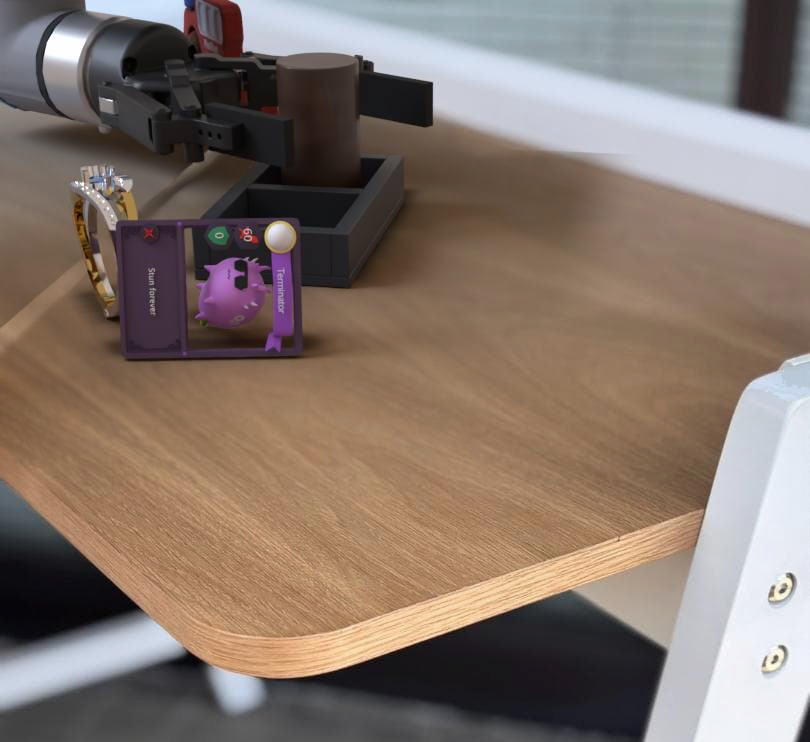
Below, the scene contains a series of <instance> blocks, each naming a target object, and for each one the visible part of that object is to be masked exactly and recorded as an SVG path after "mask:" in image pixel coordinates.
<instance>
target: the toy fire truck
mask: <svg viewBox="0 0 810 742" xmlns="http://www.w3.org/2000/svg"><path fill="white" fill-rule="evenodd" d="M183 4H184V6H185V8H184V10H183V33H184V34H185V35H186V36H187V37H188V38H189V39H190V40H191V42H192V43H193V45H194V46H195V48H196V49H197V51H198V53H199V54H201V53H215V54H219V55H220V56H222V57H230V58H240V54H241V53H244V47H243V46H244V41H245V39H244V38H245V35H244V24H243V23H244V22H243V14H242V10H241V7H240V6H239V4H238V3H236V2H234V1H231V0H183ZM241 91H242V98H241V100H240V102H249V96H248V92H246V91H243V90H242V84H241ZM259 112H264V113H268V114H273V115H278V107H262V108H261V109H260V110H259Z"/></svg>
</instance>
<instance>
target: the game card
mask: <svg viewBox="0 0 810 742" xmlns="http://www.w3.org/2000/svg"><path fill="white" fill-rule="evenodd" d="M115 226H116V247H117V269H118V291H119V312H120V316H119V329H120V330H119V331H120V332H119V333H120V352H121V356H122V358H124V359H169V358H170V359H171V358H173V359H174V358H175V359H176V358H180V359H181V358H231V357H236V358H237V357H283V356H284V357H285V356H286V357H287V356H289V357H291V356H292V357H293V356H301V355H302V354H303V352H304V340H303V339H304V337H303V336H304V334H303V333H304V331H303V299H302V298H303V295H302V285H301V256H300V223H299V220H298V219H296V218H242V219H200V218H186V219H185V218H184V219H183V218H182V219H181V218H179V219H178V218H177V219H138V220H123V219H120V220H118V221H117V222H116V225H115ZM230 227H237V228H236V230H235V232H234V233H233V231H232V230H231V228H230ZM259 227H268V228H267V229H266V231H265V236H264V234H263V233H262V231H261V229H260V228H259ZM192 228H207V230H206V232H205V234H204V238H205V240H206V241H207V243H208V244H209V246H210V248H211V249H212V250H228V248H229V247H230V245H231V243H232V241H233V239H235V241H236V243H237V244H238V246H239V248H240V249H241V250H244V249H257V248H258V246H259V244H260V242H261V240H262V238H263V236H264V239H265V243H266V245H267V247H268V248H269V249H270V250H271V253H272V271H273V283H272V286H273V288H272V290H273V292H272V291H271V289H269V288H268V287H266V286H265V283H264V282H263V279H262V277H261V275H260V273H259V272H261V271H263V270H267V269H269V270H270V269H271V268H270V267H268V266H258V265H259V263H256V264H255V261H256V260H257V259H258V258H256V259H254V260H252V261H248V258H249V257H247V258H245V259H240V258H229V259H226V260H224V261H222V262H220V263H219V264H217V265H205V266H204V268H205V269H207V270H208V271H209V272H210V276H209V278H208V280H206V282H199V283H196V284H195V287H196V288H197V289H199V290H200V293H199V297H198V304H197V305H198V310H199V313H198V314H197V315H195V316H194V319H195V320H199V325H200V326H201V327H205V328H208V326H213V327H216V328H218V329H233V328H238V327H241V326H244V325H246V324H247V323H249V322H251V321H252V320H253V319H254V318H255V317H256V316H258V314H259V313H260V311H261V310H262V308H263V306H264V305H265V301H266V294H272V293H273V294H272V295H273V297H272V298H273V301H272V302H273V303H272V304H273V305H272V306H273V307H272V308H273V310H272V311H273V313H272V315H273V317H272V318H273V323H272V325H273V326H272V327H273V332H269V334H268V336H267V339H266V344H265V347H243V348H240V347H239V348H238V347H237V348H191V347H190V337H189V314H188V313H189V312H188V311H189V310H188V289H187V288H188V287H187V285H188V284H187V263H186V236H185V229H192ZM291 249H292V273H291V257H290V250H291ZM292 278H293V285H292ZM292 335H293V344H294V345H293V346H292V347H282V339H283V337H291V336H292Z"/></svg>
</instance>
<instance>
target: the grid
mask: <svg viewBox="0 0 810 742" xmlns="http://www.w3.org/2000/svg"><path fill="white" fill-rule="evenodd" d="M360 156H361V189H357V188H335V187H314V186H292V185H282V184H281V167H278V166H274V165H269V164H265V163H261V162H257V161H256V163H255V164H254V165H252V167H251V168H250V169H249V170H247V172H246V173H244V174H243V175H242V177H241V178H239V179H238V180H237V181H236V182H235V183H234V184H233V185H232V186H231V187H230V188H229V189H228V190H227V191H226V192H225V193H224V194H223V195H222V196H221V197H220V198H219V199H218V200H217V201H216V202H215V203H214V204H213V205H212V206H211V207H209V208H208V209H207V211H205V212H204V213H203V214H202V216H200V217H199V219H242V218H296V219H298V220H299V223H300V256H301V286H311V287H327V288H330V287H331V288H347V289H349V288H350V287H352V284H353V283H354V281H355V280H356V278H357V276H358V275H359V273H360V272H361V270H362V269H363V267H364V266H365V264H366V262H367V261H368V260H369V258H370V256H371V255H372V253H373V251H374V250H375V248H376V247H377V245H378V244H379V242H380V241H381V239H382V237H383V236H384V235H385V233H386V231H387V229H389V226H390V225H391V223H392V222H393V221H394V218H395V217H396V216H397V214H398V213H399V211H400V209H401V208H402V206H403V205H404V203H405V194H404V193H405V156H404V155H397V154H377V153H376V154H375V153H360ZM230 228H231V230H232V231H233V233H234V232H235V230H236V228H237V227H230ZM259 228H260V229H261V231H262V233H263V234H264V236H265V231H266V229H267V228H268V227H259ZM206 230H207V228H191V238H192V251H193V253H192V254H193V266H194V278H195V280H204V281H205V280H206V281H207V280H208V278H209V276H210V272H209V271H208V270H207V269H205V268H204V266H205V265H217V264H219V263H220V262H222V261H224V260H226V259H229V258H240V259H245V258H247V257H249V258H248V261H252V260H254V259H256V258H258V259H257V260H256V261H255V264H256V263H259V265H258V266H268V267H270V268H271V269H270V270H269V269H267V270H263V271H261V272H259V273H260V275H261V277H262V279H263V282H264V284H273V271H272V253H271V250H270V249H269V248H268V247H267V245H266V243H265V239H264V236H263V238H262V240H261V242H260V244H259V246H258V248H257V249H244V250H241V249H240V248H239V246H238V244H237V243H236V241H235V239H233V241H232V243H231V245H230V247H229V248H228V250H212V249H211V248H210V246H209V244H208V243H207V241H206V240H205V238H204V234H205V232H206ZM290 257H291V273H292V249H291V250H290ZM292 286H293V278H292Z"/></svg>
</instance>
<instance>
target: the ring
mask: <svg viewBox="0 0 810 742" xmlns="http://www.w3.org/2000/svg"><path fill="white" fill-rule="evenodd" d="M115 170H116V167H115V166H114V165H107V164H106V163H104V164H99V165H98V164H95V165H94V164H93V165H89V166H88V165H83V166H82V167H79V171H80V176H81V181H80V180H78V179H74V180H72V181H70V182H67V183H66V185H67V186H68V187H69V189H68V192H67V200H68V206H69V211H70V215H71V219H72V224H73V228H74V231H75V234H76V239H77V243H78V246H79V249H80V252H81V256H82V259H83V263H84V266H85V268H86V272H87V274H88V277H89V280H90V283H91V285H92V288H93V290H94V291H93V292H94V293H95V296H96V298H97V300H98V302H99V303H100V306H101V308H102V311H103V315H104V316H105V318H106V319H109V318H116V317H120V312H119V291H118V269H117V247H116V226H115V225H116V222H117V221H119V220H118V217H117V214H116V213H115V211H114V209H113V207H112V206H111V204H110V203H109V201H114V200H116V203H115V205H116V206H117V208H118V211H119V213H120V215H121V218H122V220H139V217H138V211H137V206H136V202H135V198H134V196H133V194H132V191H131V190H132V188H133V184H134V183H133V182H134V181H133V179H132V178H131V177H130V175H129V176H128V175H127V174H116V171H115ZM116 186H117V187H119V189H117V190H116ZM84 203H85V205H84ZM98 214H99V215H100V216H101V218H102V220H103V222H104V224H105V226H106V228H107V231H108V234H109V237H110V240H111V245H112V249H113V254H114V259H115V269H116V292H114V291H113V288H112V286H111V284H110V281H109V277H108V275H107V272H106V269H105V265H104V261H103V258H102V257H103V256H102V252H101V247H100V242H99V241H100V240H99V234H98V233H99V232H98ZM84 216H85V218H84Z"/></svg>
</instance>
